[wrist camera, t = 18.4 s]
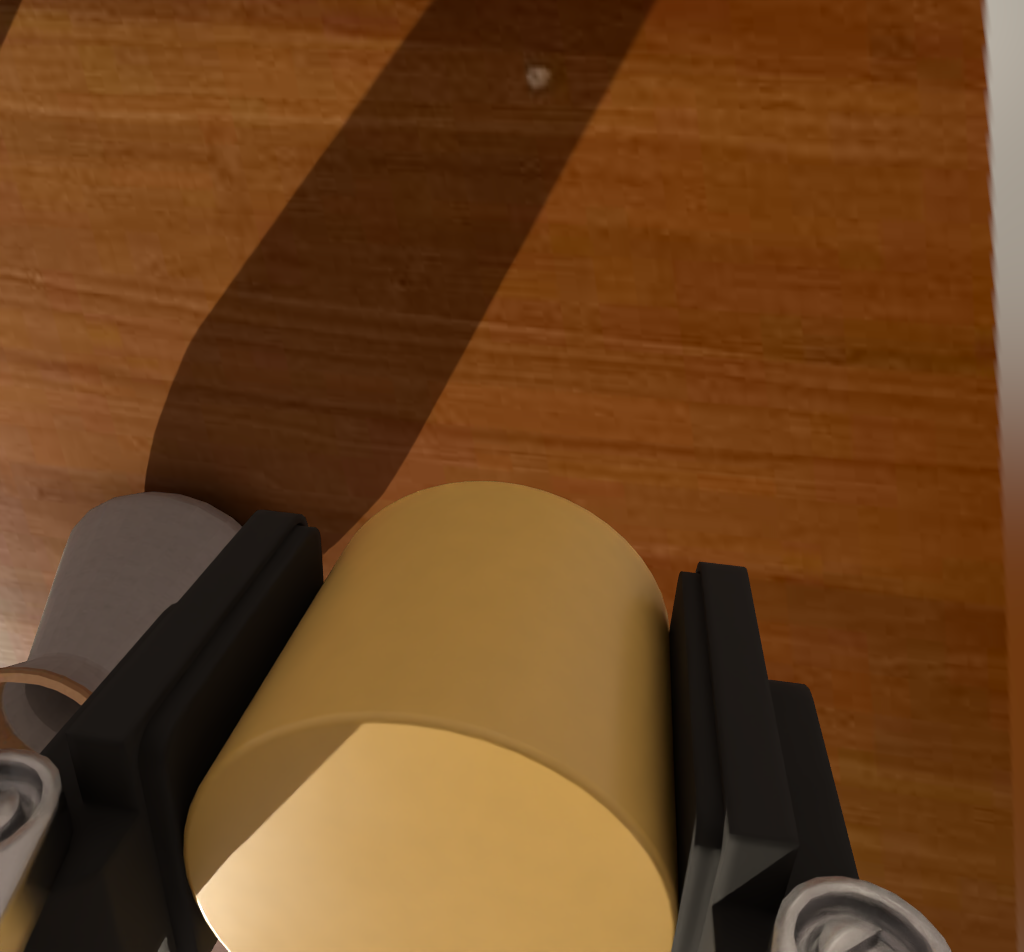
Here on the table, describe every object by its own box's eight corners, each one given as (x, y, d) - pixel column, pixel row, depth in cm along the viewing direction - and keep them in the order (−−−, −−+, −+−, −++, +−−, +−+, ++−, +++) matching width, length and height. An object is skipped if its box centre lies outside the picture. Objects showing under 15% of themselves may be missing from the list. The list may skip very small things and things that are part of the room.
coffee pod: (601, 432, 9) (574, 662, 6) (712, 725, 11) (744, 1044, 7) (272, 533, 11) (84, 773, 7) (416, 781, 12) (321, 1078, 9)
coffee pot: (194, 428, 41) (-20, 604, 28) (344, 595, 44) (216, 824, 31) (-45, 610, 49) (-302, 814, 36) (98, 741, 52) (-89, 973, 39)
